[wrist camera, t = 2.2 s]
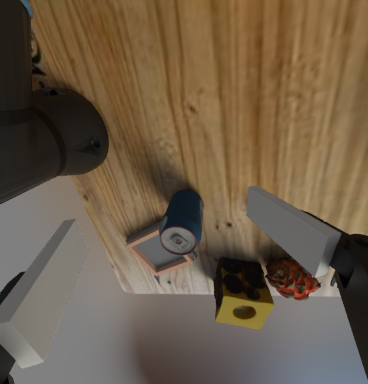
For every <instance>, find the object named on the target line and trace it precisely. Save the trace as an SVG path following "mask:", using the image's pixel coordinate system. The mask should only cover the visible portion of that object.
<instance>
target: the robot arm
mask: <svg viewBox="0 0 368 384" xmlns="http://www.w3.org/2000/svg"><path fill="white" fill-rule="evenodd" d="M32 18H33V12H32V9H31V6H30V5H29V0H0V204H2V203H4V202H6V201H8V200H10V199H12V198H14V197H16V196H18V195H20V194H22V193H24V192H26V191H28V190H30V189H32V188H34V187H36V186H38V185H40V184H42V183H44V182H46V181H49V180H50V179H52V178H55V177H57V176H67V175H79V174H84V173H87V172H90V171H92V170H93V169H95V168H97V167H98V166H100V165H101V164H102V163H103V161H104V160H105V158H106V156H107V153H108V147H109V140H108V134H107V130H106V127H105V124H104V122H103V120H102V118H101V116H100V115H99V113H98V112H97V111H96V109H95V108H94V107H93V106H92V105H91V104H90V103H89V102H88V101H87V100H86V99H85V98H83V97H82V96H80V95H79V94H77V93H75V92H73V91H70V90H67V89H61V88H51V87H48V88H41V89H38V90H35V91H32V58H31V19H32ZM246 216H247V217H248V218H250V219H251V220H252V221H253V222H254V223H255V224H256V225H257V226H258V227H260V228H261V229H262V230H263V231H264V232H265V233H266V234H267V235H268V236H269V237H271V238H272V239H273V240H274V241H275V242H276V243H277V244H278V245H279V246H281V247H282V248H283V249H284V250H285V251H286V252H287V253H288V254H289V255H290V256H292V257H293V258H294V259H295V260H296V261H297V262H298V263H299V264H300V265H302V266H303V267H304V268H305V269H306V270H307V271H308V272H309V273H310V274H311V275H313V276H314V277H315V278H316V277H319V276H322V275H325V274H327V272H328V269H329V266H331V267H332V268H334V269H335V272H334V275H333V278H332V280H331V286H334V283H335V282H336V283H337V288H338V289H339V292H340V295H341V298H342V301H343V304H344V307H345V311H346V313H347V317H348V320H349V323H350V326H351V329H352V332H353V336H354V339H355V341H356V345H357V348H358V351H359V354H360V357H361V360H362V364H363V367H364V369H365V373H366V376H367V379H368V236H366V235H362V234H351V235H349V234H347V233H345V232H343V231H342V230H340V229H338V228H336V227H334V226H332V225H331V224H329V223H327V222H324V221H323V220H322V219H320V218H317V217H316V216H314V215H313V214H311V213H309V212H306V211H303V210H299V209H297V208H296V207H294V206H292V205H290V204H289V203H287V202H285V201H283V200H281V199H280V198H278V197H276V196H274V195H273V194H271V193H269V192H267V191H266V190H264V189H262V188H260V187H258V186H252V187H248V200H247V213H246ZM88 250H89V249H88V246H87V244H86V241H85V239H84V236H83V234H82V231H81V229H80V226H79V224H78V222H77V219H72V220H66V221H64V222H63V223H62V224H61V226H60V227H59V228H58V230H57V231H56V232H55V234H54V235H53V236H52V238H51V239H50V240H49V241H48V243H47V244H46V246H45V247H44V248H43V249H42V251H41V252H40V254H39V255H38V256H37V257H36V259H35V260H34V261H33V263H32V264H31V265H30V267H29V268H28V269H27V271H25V272H21V273H19V274H18V275H17V276H16V277H14V278H13V279H12V280H11V281H10V282H9V283H8V284H7V285H6V286H5V288H4V289H3V290H2V291H1V292H0V384H14V381H13V378H12V376H11V375H10V374H9V372H10V371H11V368H12V367H13V365H14V363H15V361H16V362H17V364H18V365H19V366H20V367H21V368H22V369H23V368H26V367H30V366H33V365H36V364H39V363H42V362H44V361H45V359H46V356H47V354H48V351H49V348H50V346H51V343H52V341H53V338H54V336H55V333H56V331H57V328H58V326H59V323H60V321H61V318H62V316H63V313H64V311H65V308H66V306H67V303H68V301H69V298H70V296H71V293H72V291H73V288H74V286H75V283H76V280H77V278H78V275H79V273H80V270H81V268H82V265H83V263H84V261H85V258H86V255H87V253H88Z"/></svg>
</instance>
